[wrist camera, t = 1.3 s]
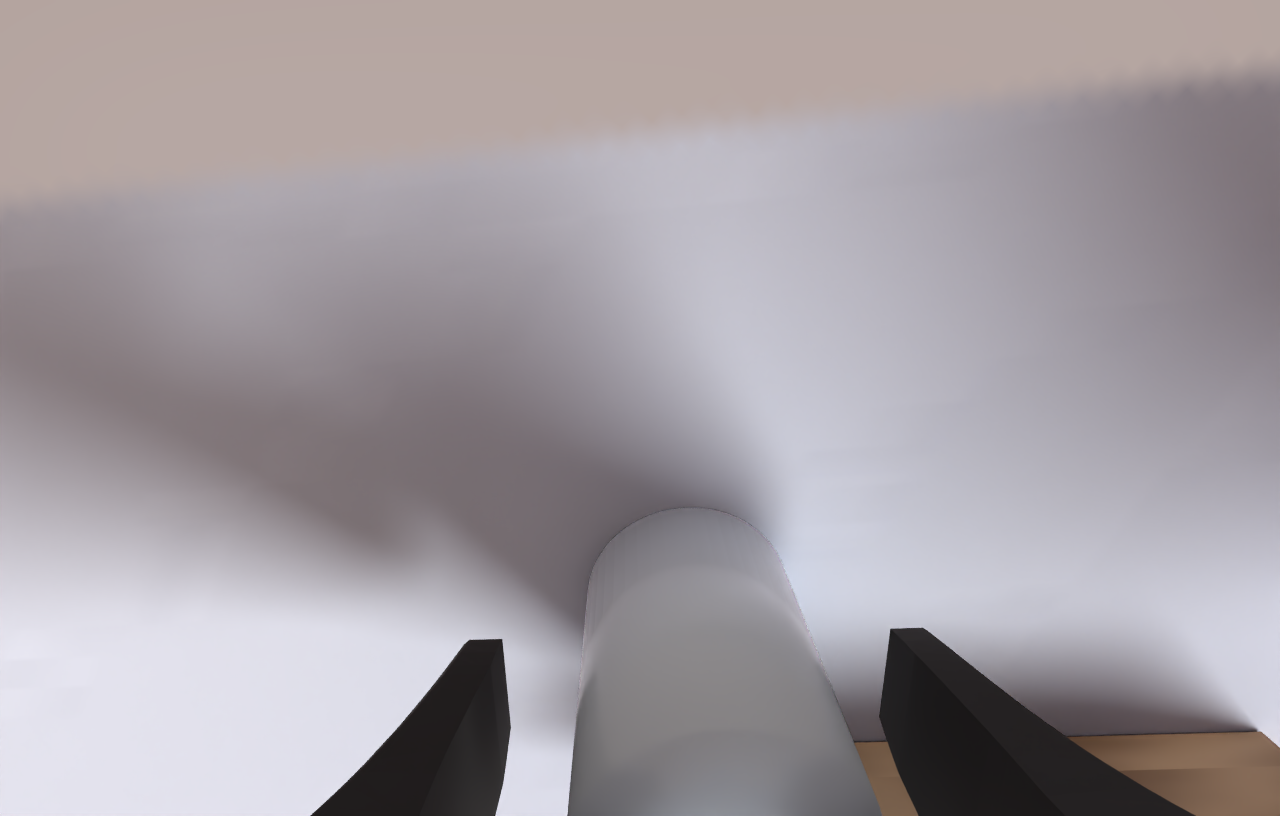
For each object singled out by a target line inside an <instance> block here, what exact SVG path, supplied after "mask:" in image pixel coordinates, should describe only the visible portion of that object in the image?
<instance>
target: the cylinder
mask: <svg viewBox="0 0 1280 816" xmlns="http://www.w3.org/2000/svg"><path fill="white" fill-rule="evenodd" d="M567 816H882V813H881V810H880V806H879V804H878V801H877V799H876V796H875V794H874V791H873V789H872V786H871V784H870V781H869V779H868V776H867V774H866V771H865V769H864V766H863V764H862V761H861V759H860V756H859V754H858V751H857V749H856V746H855V744H854V741H853V739H852V736H851V734H850V731H849V729H848V726H847V724H846V721H845V719H844V716H843V714H842V711H841V709H840V706H839V704H838V701H837V699H836V696H835V694H834V691H833V689H832V686H831V684H830V681H829V679H828V676H827V674H826V671H825V669H824V666H823V664H822V661H821V659H820V656H819V654H818V651H817V649H816V646H815V644H814V641H813V639H812V636H811V634H810V631H809V629H808V626H807V624H806V621H805V619H804V617H803V614H802V612H801V609H800V607H799V604H798V602H797V599H796V597H795V594H794V592H793V589H792V587H791V584H790V582H789V579H788V577H787V574H786V572H785V569H784V567H783V564H782V562H781V560H780V558H779V556H778V554H777V552H776V550H775V549H774V547H773V546H772V545H771V543H770V542H769V541H768V540H767V539H766V538H765V536H764V535H763V534H762V533H761V532H759V531H758V530H757V529H755V528H754V527H753V526H752V525H750V524H748V523H747V522H745V521H743V520H742V519H740V518H737V517H735V516H733V515H730V514H728V513H724V512H721V511H717V510H713V509H706V508H693V507H686V508H674V509H669V510H664V511H660V512H657V513H654V514H651V515H648V516H646V517H644V518H642V519H639V520H637V521H635V522H634V523H632V524H631V525H629V526H627V527H626V528H624V529H623V530H622V531H621V532H619V533H618V534H617V535H616V536H615V537H614V538H613V539H612V540H611V541H610V542H609V543H608V544H607V545H606V547H605V548H604V549H603V551H602V552H601V554H600V555H599V557H598V559H597V561H596V563H595V564H594V567H593V570H592V572H591V575H590V579H589V585H588V593H587V604H586V615H585V626H584V637H583V648H582V660H581V671H580V682H579V693H578V704H577V715H576V726H575V737H574V749H573V760H572V771H571V782H570V793H569V804H568V815H567Z"/></svg>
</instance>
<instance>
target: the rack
mask: <svg viewBox="0 0 1280 816" xmlns="http://www.w3.org/2000/svg"><path fill="white" fill-rule="evenodd" d="M1067 738H1069V739H1070V740H1072V741H1073V742H1074V743H1076V744H1077V745H1079V746H1080V747H1082V748H1083V749H1085V750H1086V751H1088V752H1089V753H1091V754H1092V755H1094V756H1095V757H1097V758H1099V759H1100V760H1102V761H1103V762H1105V763H1106V764H1108V765H1110V766H1111V767H1113V768H1114V769H1116V770H1118V771H1119V772H1121V773H1123V774H1124V775H1126V776H1128V777H1129V778H1131V779H1132V780H1134V781H1136V782H1137V783H1139V784H1141V785H1142V786H1144V787H1145V788H1147V789H1149V790H1151V791H1152V792H1154V793H1156V794H1158V795H1159V796H1161V797H1163V798H1165V799H1166V800H1168V801H1170V802H1172V803H1173V804H1175V805H1177V806H1179V807H1181V808H1183V809H1184V810H1186V811H1188V812H1190V813H1192V814H1194V815H1196V816H1280V748H1279V747H1278V746H1277V745H1276V744H1275V743H1274V742H1272V741H1271V740H1270V739H1269V738H1268V737H1267V736H1266V735H1264V734H1263V733H1262V732H1231V733H1194V734H1156V735H1119V736H1082V737H1067ZM854 744H855V746H856V749H857V751H858V754H859V756H860V759H861V761H862V764H863V766H864V769H865V771H866V774H867V776H868V779H869V781H870V784H871V786H872V789H873V791H874V794H875V796H876V799H877V801H878V804H879V806H880V810H881V813H882V816H918V814H917V812H916V809H915V807H914V805H913V803H912V801H911V799H910V797H909V795H908V793H907V790H906V788H905V786H904V784H903V782H902V780H901V777H900V775H899V773H898V771H897V768H896V765H895V762H894V759H893V757H892V754H891V751H890V748H889V745H888V742H857V743H854Z"/></svg>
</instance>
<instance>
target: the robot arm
mask: <svg viewBox="0 0 1280 816" xmlns="http://www.w3.org/2000/svg"><path fill="white" fill-rule="evenodd" d="M879 717H880V721H881V724H882V727H883V730H884V733H885V736H886V739H887V742H888V745H889V748H890V751H891V754H892V757H893V759H894V762H895V765H896V768H897V771H898V773H899V775H900V777H901V780H902V782H903V784H904V786H905V788H906V790H907V793H908V795H909V797H910V799H911V801H912V803H913V805H914V807H915V809H916V812H917V814H918V816H1196V815H1194V814H1192V813H1190V812H1188V811H1186V810H1184V809H1183V808H1181V807H1179V806H1177V805H1175V804H1173V803H1172V802H1170V801H1168V800H1166V799H1165V798H1163V797H1161V796H1159V795H1158V794H1156V793H1154V792H1152V791H1151V790H1149V789H1147V788H1145V787H1144V786H1142V785H1141V784H1139V783H1137V782H1136V781H1134V780H1132V779H1131V778H1129V777H1128V776H1126V775H1124V774H1123V773H1121V772H1119V771H1118V770H1116V769H1114V768H1113V767H1111V766H1110V765H1108V764H1106V763H1105V762H1103V761H1102V760H1100V759H1099V758H1097V757H1095V756H1094V755H1092V754H1091V753H1089V752H1088V751H1086V750H1085V749H1083V748H1082V747H1080V746H1079V745H1077V744H1076V743H1074V742H1073V741H1072V740H1070V739H1069V738H1067V737H1066V736H1064V735H1063V734H1062V733H1060V732H1059V731H1057V730H1056V729H1054V728H1053V727H1052V726H1050V725H1049V724H1047V723H1046V722H1044V721H1043V720H1042V719H1040V718H1039V717H1038V716H1036V715H1035V714H1034V713H1032V712H1031V711H1029V710H1028V709H1027V708H1025V707H1024V706H1023V705H1021V704H1020V703H1019V702H1017V701H1016V700H1015V699H1013V698H1012V697H1011V696H1010V695H1008V694H1007V693H1006V692H1004V691H1003V690H1002V689H1000V688H999V687H998V686H997V685H995V684H994V683H993V682H991V681H990V680H989V679H988V678H986V677H985V676H984V675H983V674H981V673H980V672H979V671H978V670H976V669H975V668H974V667H973V666H971V665H970V664H969V663H967V662H966V661H965V660H964V659H962V658H961V657H960V656H959V655H957V654H956V653H955V652H954V651H952V650H951V649H950V648H949V647H947V646H946V645H945V644H944V643H942V642H941V641H940V640H939V639H937V638H936V637H935V636H933V635H932V634H931V633H929V632H928V631H927V630H925V629H924V628H902V629H890V637H889V645H888V653H887V660H886V668H885V676H884V684H883V692H882V699H881V707H880V715H879ZM510 729H511V725H510V715H509V704H508V694H507V684H506V673H505V663H504V653H503V642H502V639H488V640H469V641H468V642H467V643H466V644H464V645H463V647H462V648H461V649H460V651H459V652H458V653H457V655H456V656H455V657H454V659H453V660H452V661H451V663H450V664H449V665H448V667H447V668H446V669H445V671H444V672H443V673H442V675H441V676H440V677H439V678H438V680H437V681H436V682H435V684H434V685H433V686H432V687H431V689H430V690H429V691H428V692H427V694H426V695H425V696H424V697H423V698H422V700H421V701H420V702H419V703H418V704H417V706H416V707H415V708H414V709H413V710H412V712H411V713H410V714H409V715H408V716H407V718H406V719H405V720H404V721H403V722H402V724H401V725H400V726H399V727H398V728H397V729H396V730H395V732H394V733H393V734H392V735H391V736H390V737H389V738H388V739H387V740H386V741H385V742H384V743H383V745H382V746H381V747H380V748H379V749H378V750H377V751H376V752H375V753H374V754H373V755H372V756H371V758H370V759H369V760H368V761H367V762H366V763H365V764H364V765H363V766H362V767H361V768H360V769H359V770H358V771H357V772H356V773H355V774H354V775H353V776H352V777H351V778H350V779H349V780H348V781H347V782H346V783H345V784H344V785H343V786H342V787H341V788H340V789H339V790H338V791H337V792H336V793H335V794H334V795H332V796H331V797H330V798H329V799H328V800H327V801H326V802H325V803H324V804H323V805H322V806H321V807H320V808H318V809H317V810H316V811H315V812H314V813H313V814H312V815H311V816H495V814H496V810H497V806H498V802H499V798H500V794H501V790H502V786H503V780H504V773H505V766H506V759H507V752H508V744H509V737H510Z"/></svg>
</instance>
